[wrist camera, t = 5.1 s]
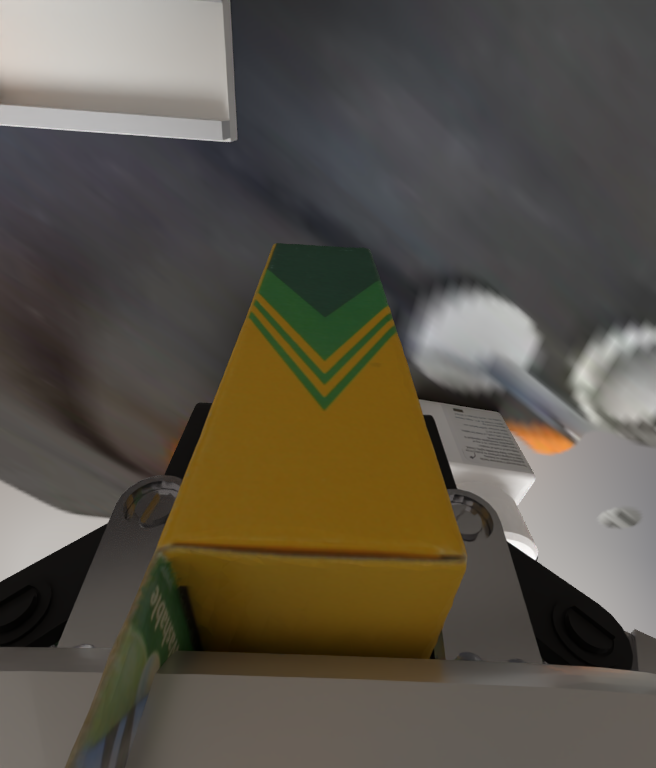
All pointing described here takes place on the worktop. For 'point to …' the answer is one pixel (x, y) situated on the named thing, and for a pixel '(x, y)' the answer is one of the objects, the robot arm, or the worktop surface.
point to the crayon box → (295, 501)
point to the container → (486, 464)
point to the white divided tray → (119, 67)
